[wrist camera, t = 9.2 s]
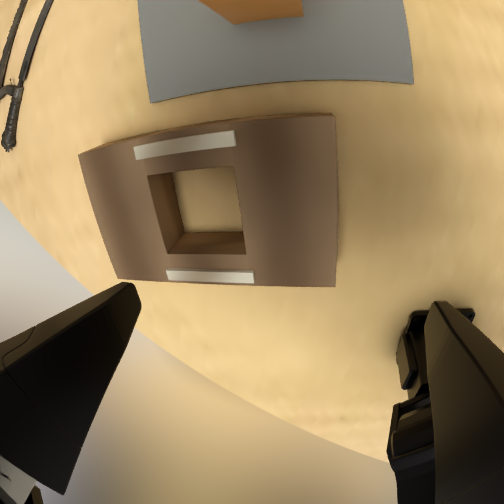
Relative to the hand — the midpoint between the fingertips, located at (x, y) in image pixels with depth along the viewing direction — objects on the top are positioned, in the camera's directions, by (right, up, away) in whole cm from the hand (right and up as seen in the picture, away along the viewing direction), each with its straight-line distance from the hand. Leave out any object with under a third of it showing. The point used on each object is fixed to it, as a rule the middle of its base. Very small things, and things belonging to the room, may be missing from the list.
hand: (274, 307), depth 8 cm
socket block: (-3, +5, +11) cm, 13 cm away
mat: (0, +16, +4) cm, 17 cm away
